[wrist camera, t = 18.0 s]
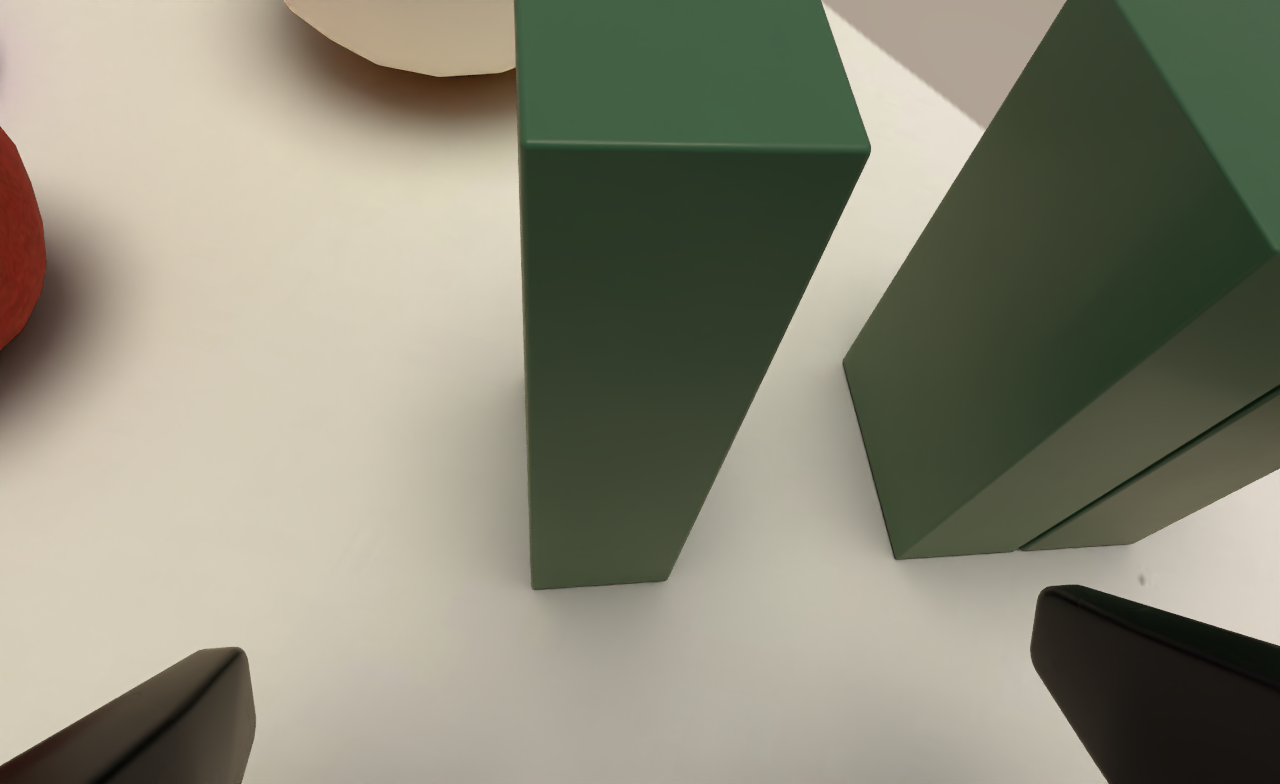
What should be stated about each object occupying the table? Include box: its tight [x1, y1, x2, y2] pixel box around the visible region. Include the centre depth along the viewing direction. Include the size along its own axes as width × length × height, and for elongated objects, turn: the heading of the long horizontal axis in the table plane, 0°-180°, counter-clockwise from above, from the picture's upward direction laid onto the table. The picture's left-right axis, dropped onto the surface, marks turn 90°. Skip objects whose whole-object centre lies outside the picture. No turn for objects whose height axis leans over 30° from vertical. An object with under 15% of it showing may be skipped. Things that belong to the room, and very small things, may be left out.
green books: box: [843, 0, 1280, 559], centre depth 15 cm, size 6×6×11 cm
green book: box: [514, 0, 871, 589], centre depth 13 cm, size 6×3×12 cm, turn 6°
